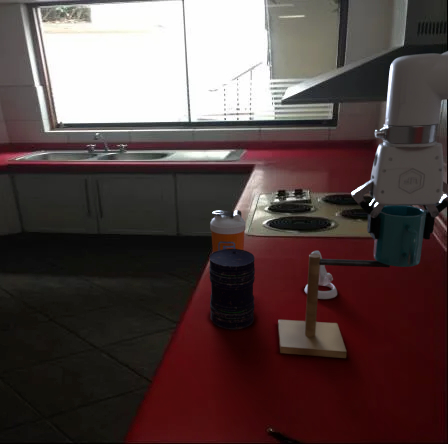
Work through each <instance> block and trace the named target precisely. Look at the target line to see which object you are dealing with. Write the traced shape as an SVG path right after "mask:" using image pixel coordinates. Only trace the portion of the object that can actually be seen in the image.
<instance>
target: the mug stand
mask: <svg viewBox="0 0 448 444" xmlns="http://www.w3.org/2000/svg"><path fill="white" fill-rule="evenodd" d="M320 265H324V266H331V267H333V266H335V267H336V266H337V267H362V268H363V267H364V268H387V269H388V268H390V267H391V266H390V265H386V264H383V263H380V262H378V261H377V260H369V259H339V258H337V259H336V258H322V259H320V255H319V254H312V253H310V254H308V269H307V271H308V272H307V284H308V286H307V294H306V307H305V320H291V319H278V320H277V328H278V341H279V342H278V343H279V353H280V354H288V355H299V356H300V355H301V356H313V357H324V358H335V359H336V358H339V359H347V349H346V345H345V343H344V339H343V336H342V333H341V331H340V327H339V324H338V323H337V322H323V321H322V322H321V321H317V315H318V299H319V298H318V291H319V287H320V285H319V271H320Z"/></svg>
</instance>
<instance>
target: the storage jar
mask: <svg viewBox="0 0 448 444" xmlns="http://www.w3.org/2000/svg"><path fill="white" fill-rule="evenodd" d="M255 260H256V259H255V255H254V254H253V253H251V252H250V251H247V250H240V249H223V250H218V251H216V252H213V251H212V253H210V254H209V268H208V271H209V281H210V288H211V289H210V291H211V294H210V297H209V298H210V302H209V306H210V307H209V308H210V320H211V322H212V323H213V324H214V325H216V326H217V327H220V328H222V329H225V330H241V329H245V328H247V327H249V326H251V325H252V324H253V322H254V319H255V316H254V313H255V295H254V283H255V279H256V277H255V274H256V267H255Z"/></svg>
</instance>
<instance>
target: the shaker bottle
mask: <svg viewBox="0 0 448 444" xmlns="http://www.w3.org/2000/svg"><path fill="white" fill-rule="evenodd" d="M212 215H214V217H213V218H211V221H210V223H209V225H210V231H211V233H210V234H211V243H212V244H211V246H212V253H213V252H216V251H218V250H223V249H240V250H244V247H245V231H246V229H247V227H246V223H247V222H246V220H245V219H244V218H243V213H242V211H241V210H239V209H235V210H234V211H231V210H220V209H219V210H218V209H217V210H214V211H212Z"/></svg>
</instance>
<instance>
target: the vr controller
mask: <svg viewBox="0 0 448 444" xmlns="http://www.w3.org/2000/svg"><path fill="white" fill-rule="evenodd" d="M311 254H319V255H320V259H323V257H322V254H321V252H320V251H319V250H314V251H312V252H311ZM333 280H334V277H333V275H332V274H331V273H330V272H327V269H326V265H320V271H319V286H323V287H327V288H330V289H331V290H318V299H320V300H330V299H331V300H332V299H334V298H336V297H337V296H338V290H337V288H336V286H335V284H333V283H332V281H333ZM307 286H308V283H307V284H306V285H305V288H304V292H305V294H306V295H307Z"/></svg>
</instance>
